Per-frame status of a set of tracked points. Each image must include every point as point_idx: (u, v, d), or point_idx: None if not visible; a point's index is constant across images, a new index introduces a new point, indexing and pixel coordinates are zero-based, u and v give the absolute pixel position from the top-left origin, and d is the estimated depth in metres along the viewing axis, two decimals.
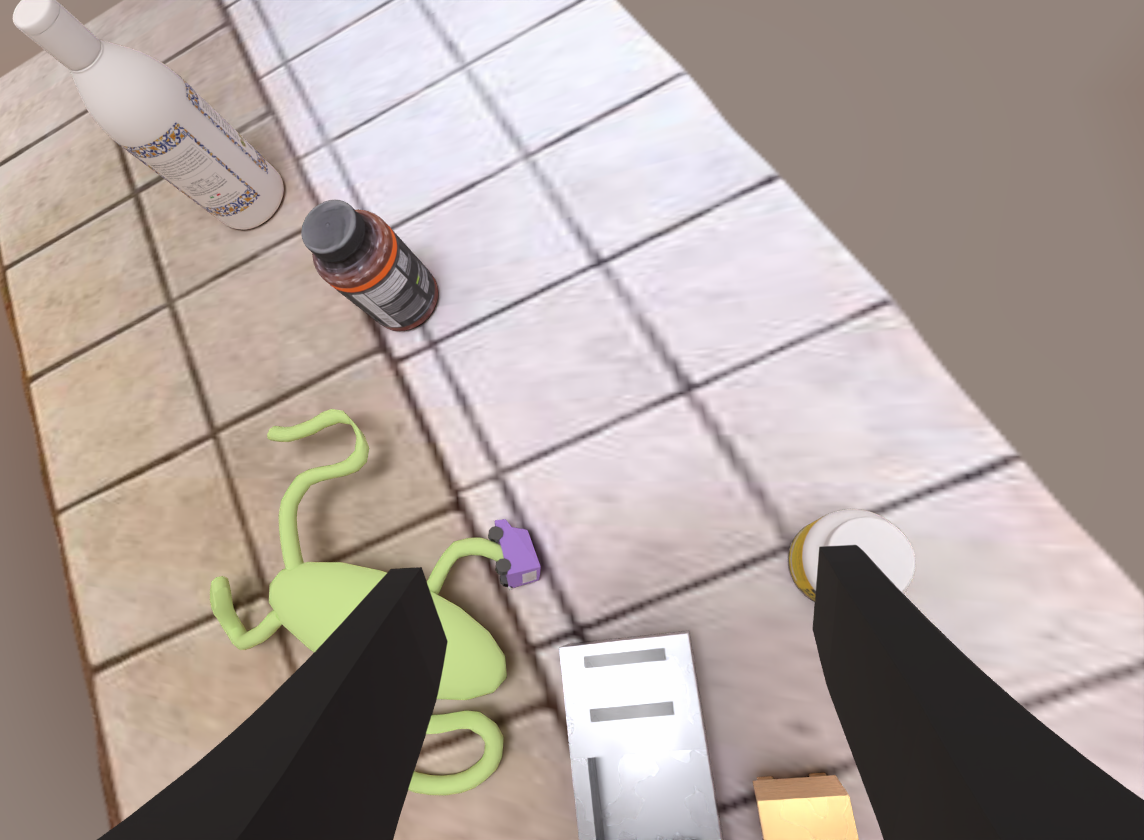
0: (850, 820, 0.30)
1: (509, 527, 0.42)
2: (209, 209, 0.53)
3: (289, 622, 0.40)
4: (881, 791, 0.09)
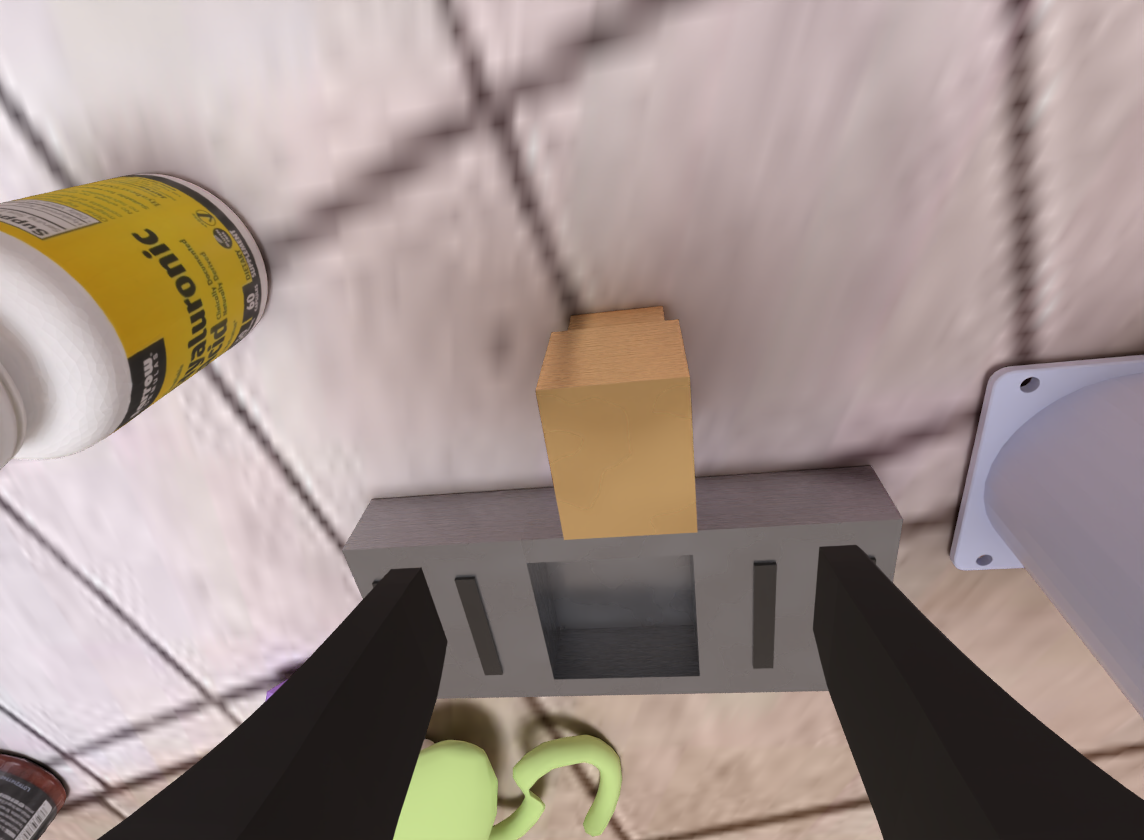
0: (583, 392, 0.14)
1: None
2: None
3: None
4: (881, 791, 0.09)
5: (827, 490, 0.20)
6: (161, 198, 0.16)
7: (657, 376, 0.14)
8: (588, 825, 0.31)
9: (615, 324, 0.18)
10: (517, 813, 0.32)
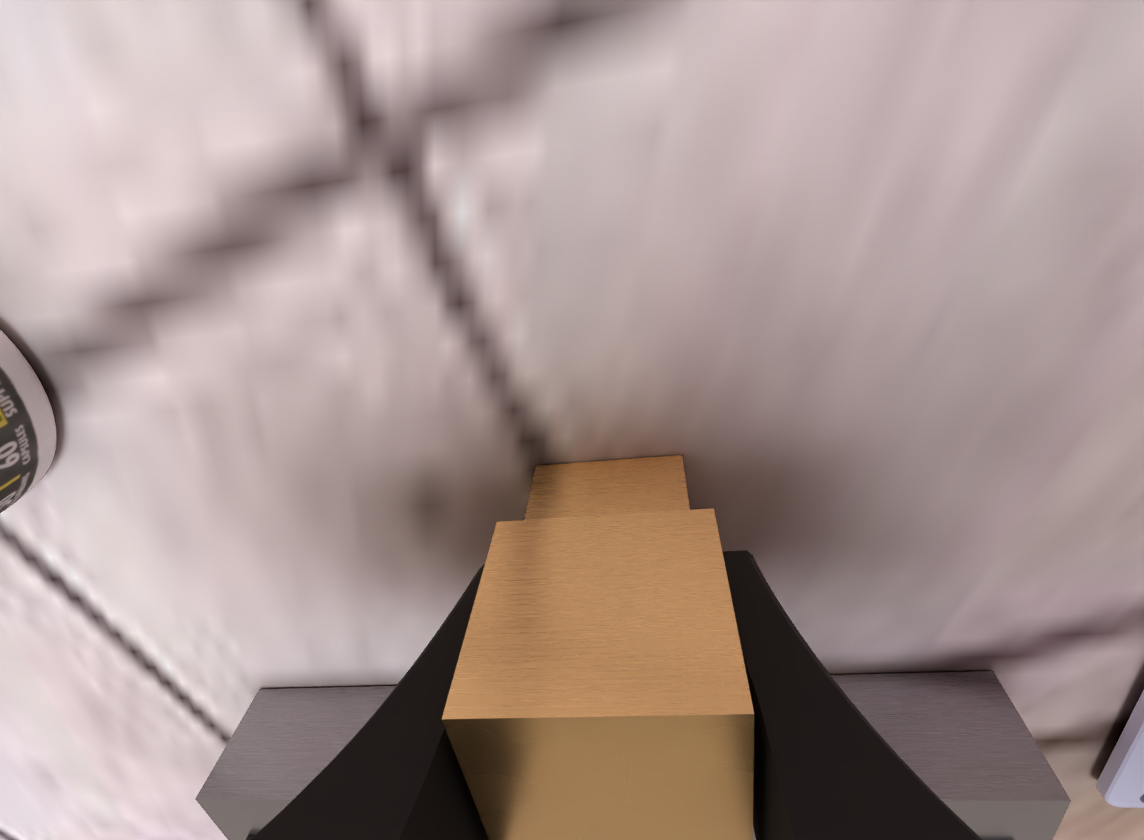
0: (536, 726, 0.07)
1: None
2: None
3: None
4: None
5: (933, 721, 0.13)
6: None
7: (686, 703, 0.07)
8: None
9: (605, 496, 0.11)
10: None
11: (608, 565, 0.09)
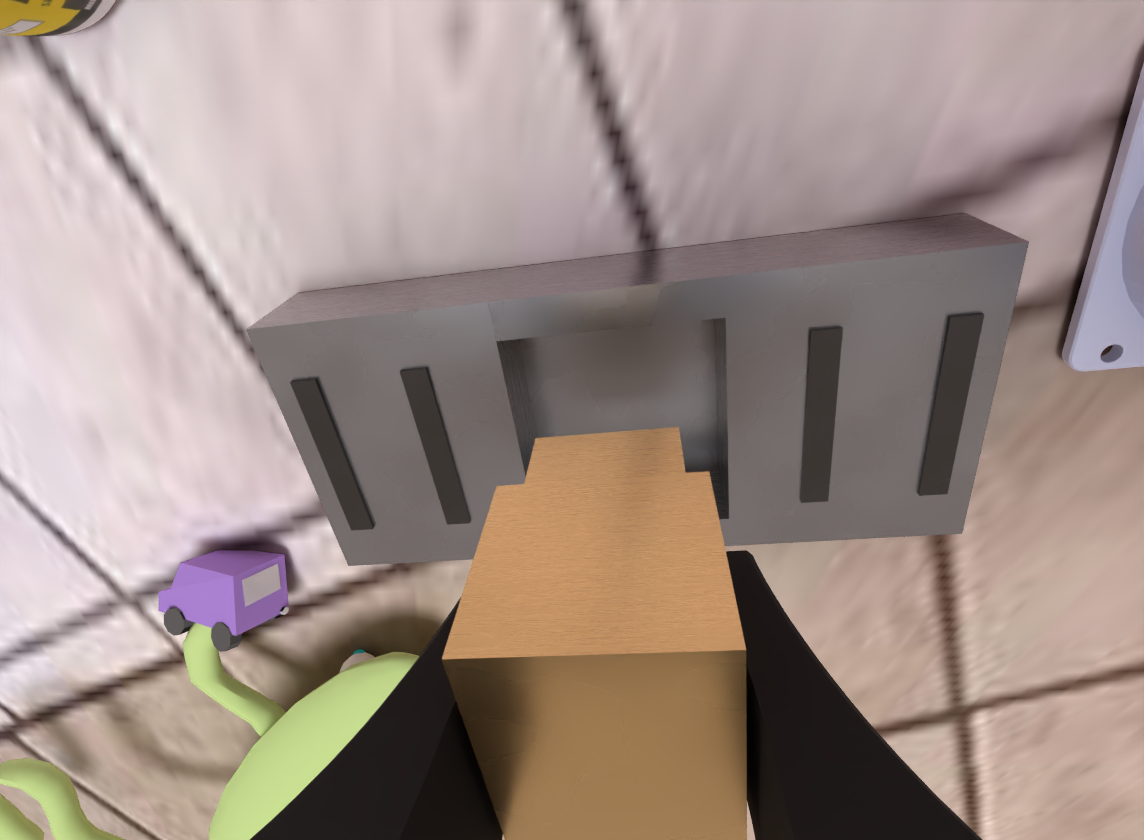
0: (535, 666, 0.07)
1: (170, 593, 0.22)
2: None
3: None
4: (751, 791, 0.09)
5: (910, 233, 0.14)
6: None
7: (680, 641, 0.07)
8: None
9: (603, 464, 0.11)
10: None
11: (605, 522, 0.09)
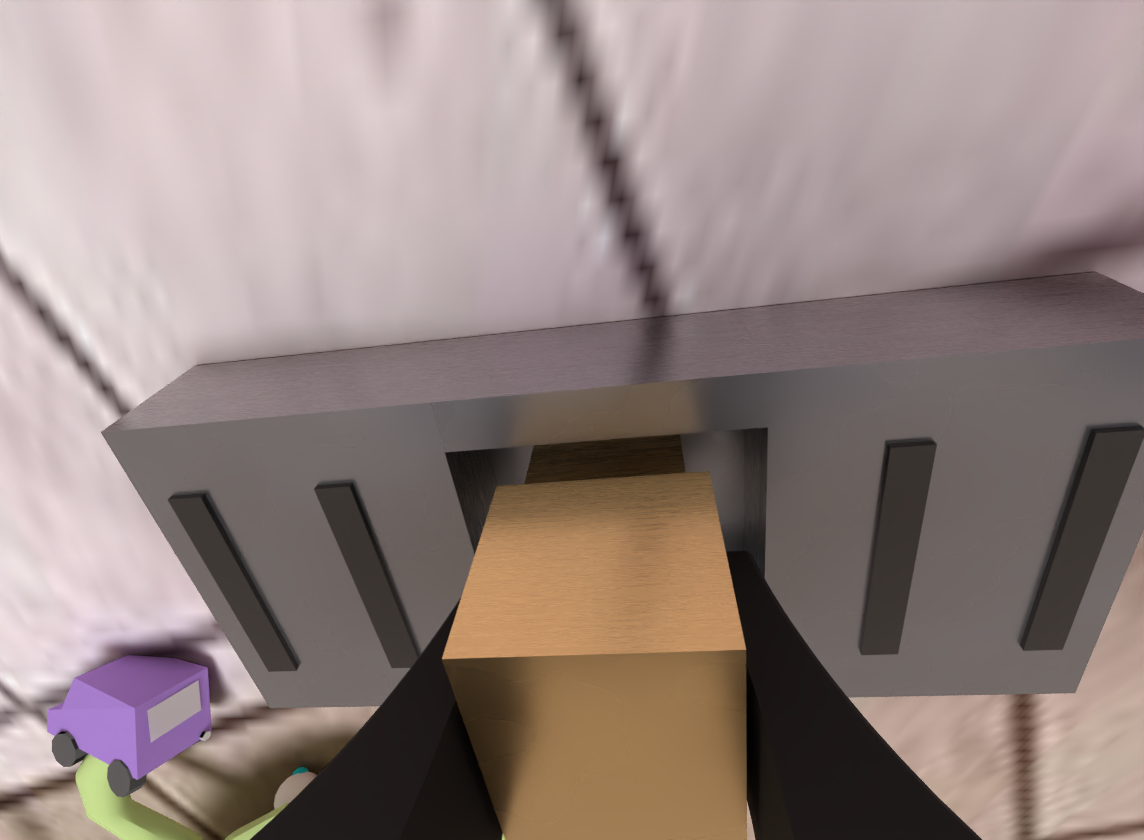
0: (535, 665, 0.07)
1: (61, 713, 0.18)
2: None
3: None
4: (751, 791, 0.09)
5: (1028, 305, 0.10)
6: None
7: (680, 640, 0.07)
8: None
9: (603, 464, 0.11)
10: None
11: (605, 522, 0.09)
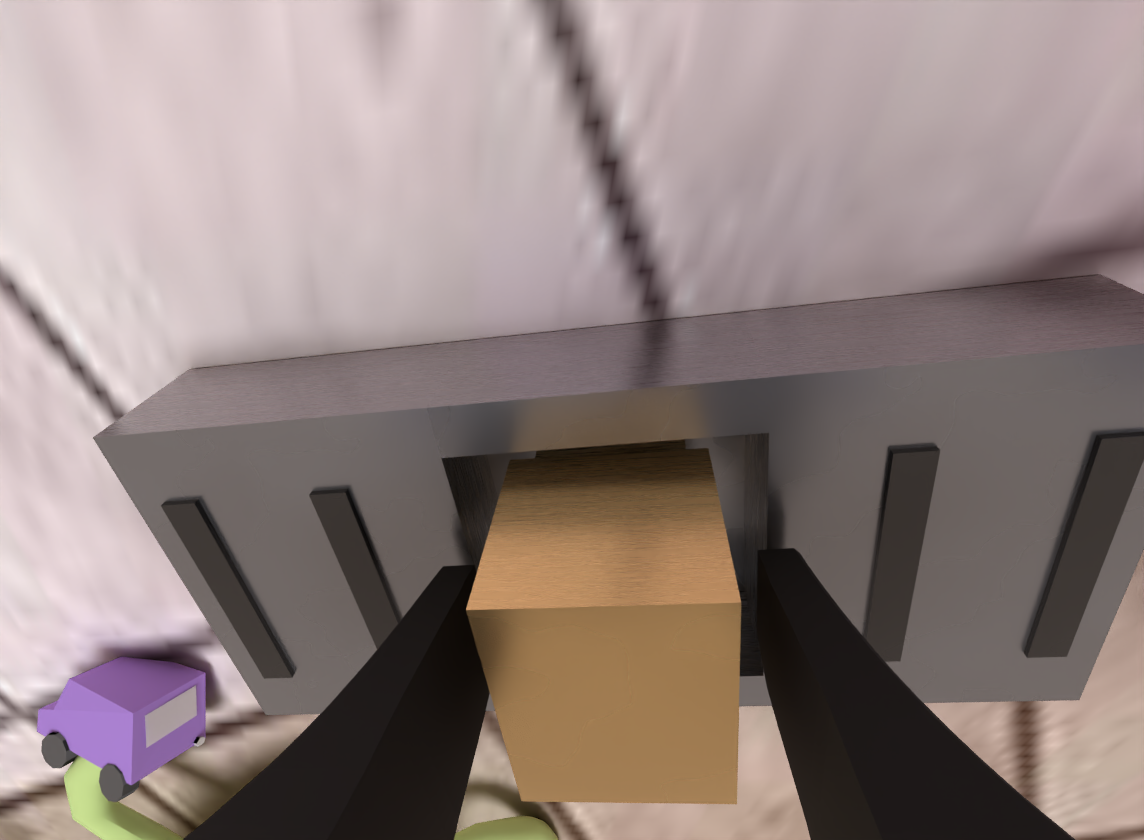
0: (550, 617, 0.08)
1: (53, 714, 0.18)
2: None
3: None
4: (807, 791, 0.09)
5: (1032, 308, 0.10)
6: None
7: (681, 595, 0.08)
8: None
9: None
10: None
11: (612, 493, 0.10)
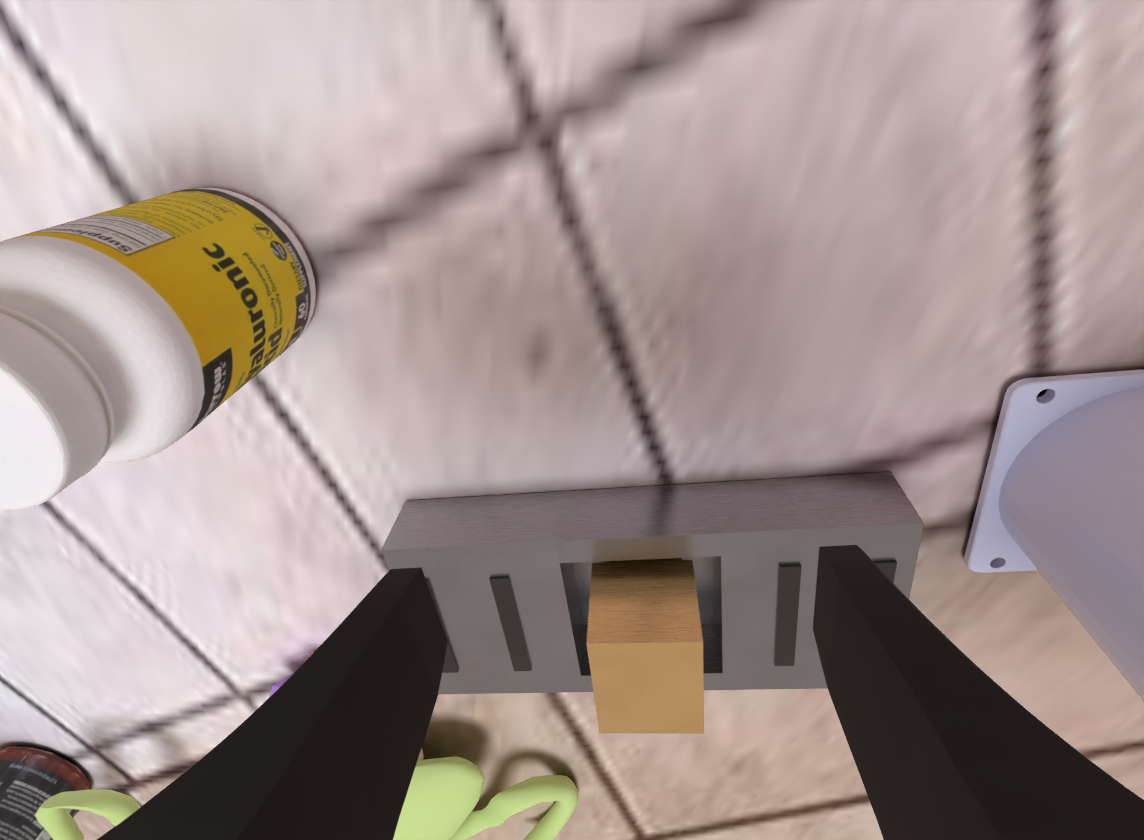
0: (622, 646, 0.19)
1: None
2: None
3: None
4: (881, 791, 0.09)
5: (849, 495, 0.21)
6: (223, 213, 0.17)
7: (678, 638, 0.18)
8: None
9: None
10: None
11: (646, 585, 0.20)
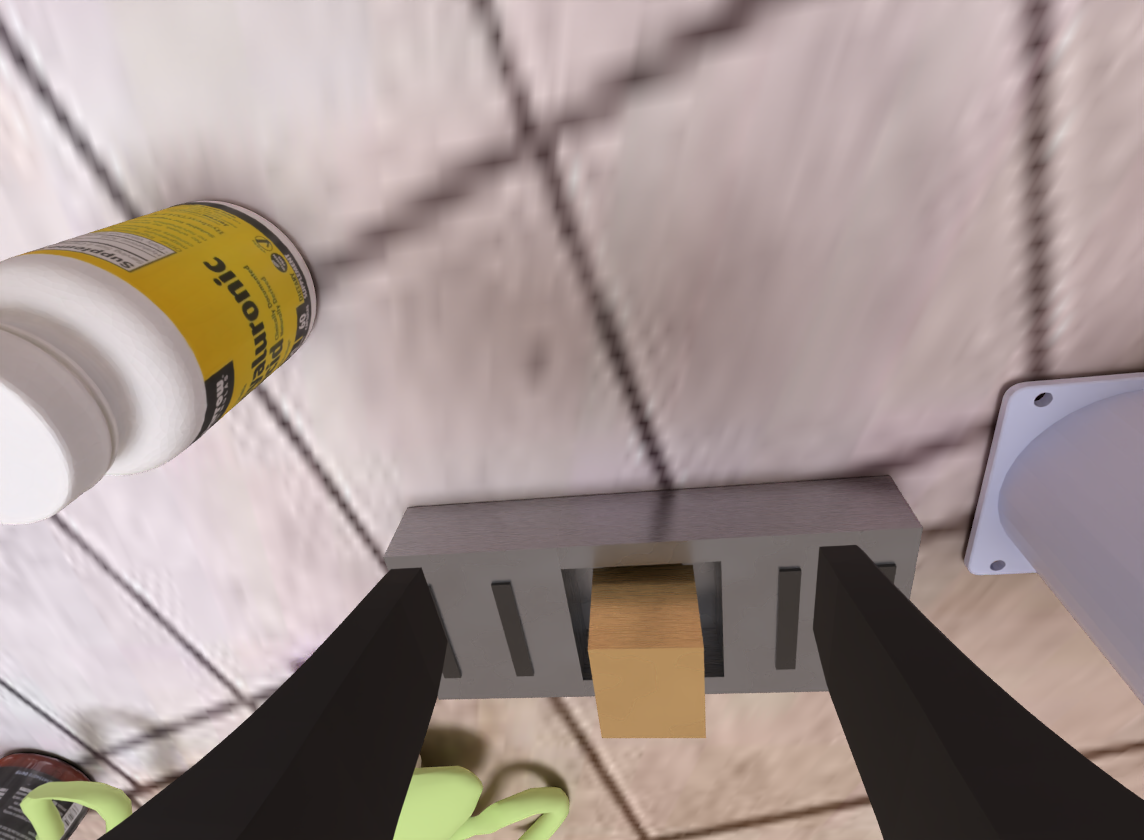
0: (623, 652, 0.19)
1: None
2: None
3: None
4: (881, 791, 0.09)
5: (849, 499, 0.21)
6: (224, 226, 0.17)
7: (679, 643, 0.19)
8: None
9: None
10: None
11: (646, 590, 0.21)
